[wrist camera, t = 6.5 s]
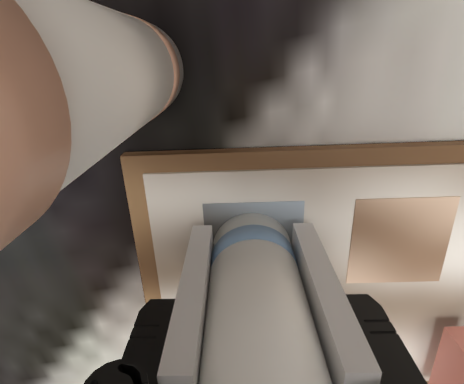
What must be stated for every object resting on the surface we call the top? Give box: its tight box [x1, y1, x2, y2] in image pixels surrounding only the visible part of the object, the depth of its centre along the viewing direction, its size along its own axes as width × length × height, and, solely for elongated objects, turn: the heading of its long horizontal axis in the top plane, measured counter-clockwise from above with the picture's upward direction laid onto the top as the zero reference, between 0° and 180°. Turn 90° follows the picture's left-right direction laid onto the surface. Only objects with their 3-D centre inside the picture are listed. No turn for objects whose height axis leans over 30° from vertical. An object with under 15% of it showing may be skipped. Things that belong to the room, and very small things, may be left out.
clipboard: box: [120, 141, 464, 383], centre depth 15 cm, size 13×16×1 cm
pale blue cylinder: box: [198, 213, 332, 384], centre depth 9 cm, size 3×3×11 cm
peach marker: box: [0, 0, 184, 251], centre depth 7 cm, size 3×3×11 cm
